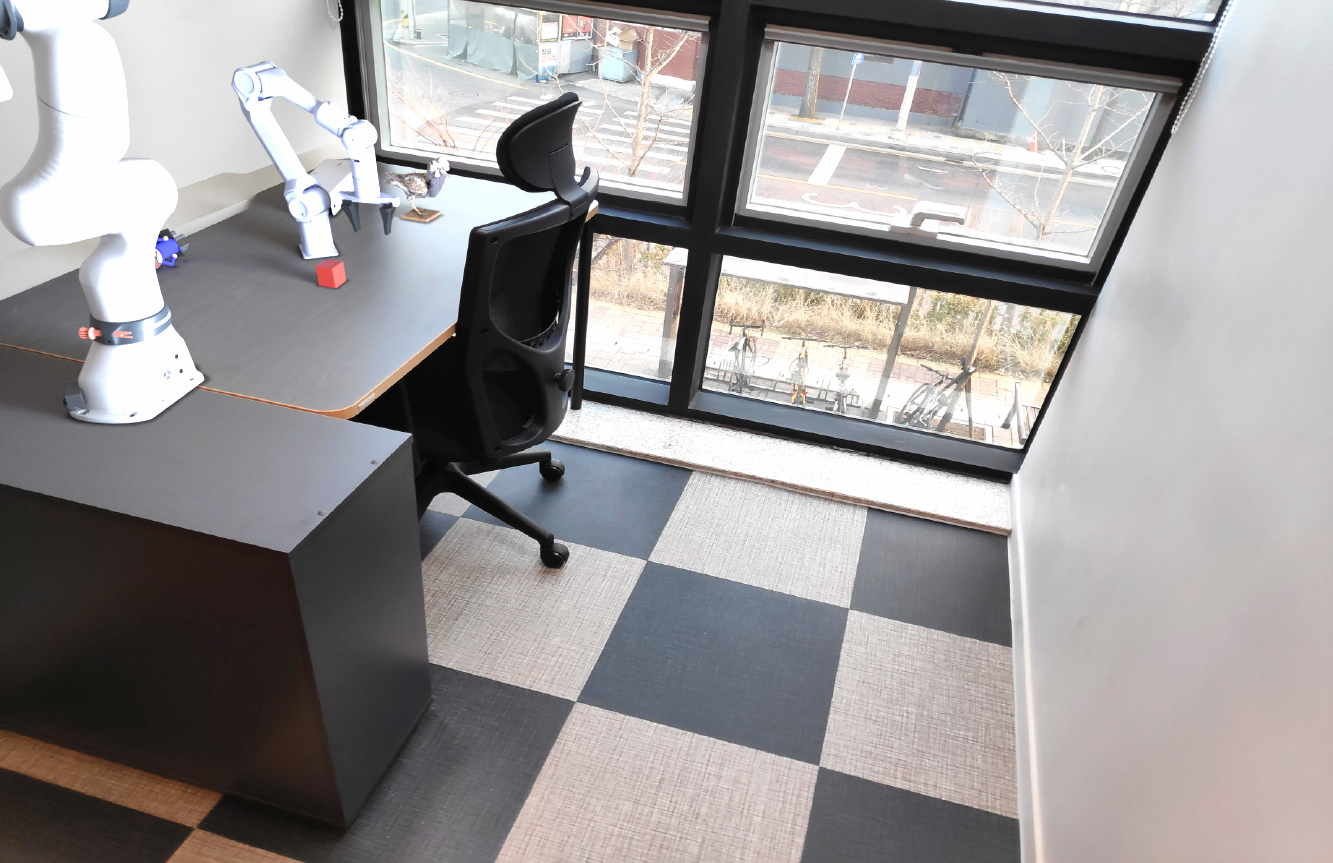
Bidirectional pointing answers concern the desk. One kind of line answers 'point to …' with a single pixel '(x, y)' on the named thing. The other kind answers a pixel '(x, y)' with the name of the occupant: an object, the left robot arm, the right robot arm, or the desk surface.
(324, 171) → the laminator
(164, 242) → the character figurine
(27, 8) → the left robot arm
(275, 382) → the desk surface
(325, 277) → the brick
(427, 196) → the stuffed bird
